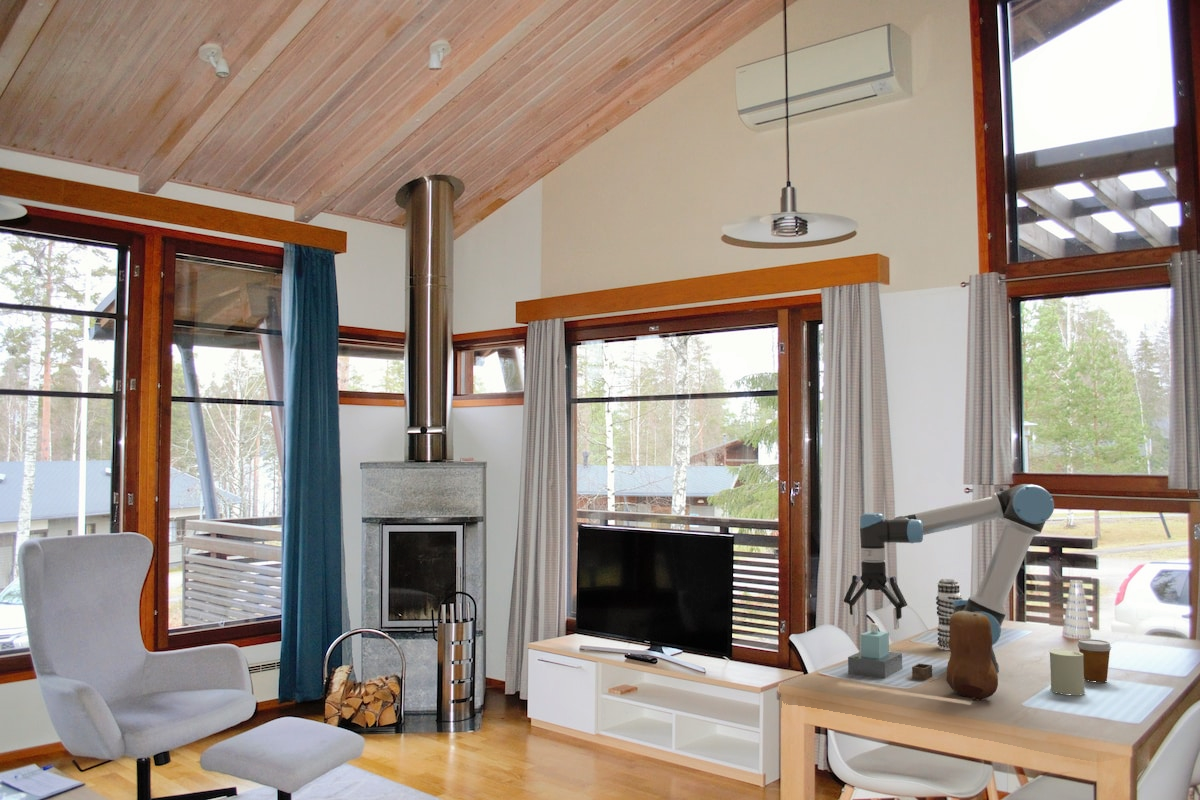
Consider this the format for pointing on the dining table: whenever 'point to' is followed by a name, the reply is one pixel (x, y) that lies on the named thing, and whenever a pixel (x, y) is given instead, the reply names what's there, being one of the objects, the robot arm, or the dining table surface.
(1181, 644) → the dining table surface
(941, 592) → the decorative candle
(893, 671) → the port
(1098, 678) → the disposable coffee cup
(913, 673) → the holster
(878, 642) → the teal and white block
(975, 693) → the butternut squash
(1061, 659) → the can
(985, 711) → the dining table surface
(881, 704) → the dining table surface
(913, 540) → the robot arm
